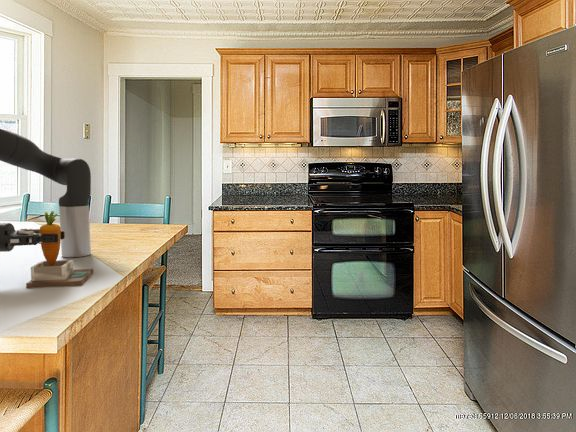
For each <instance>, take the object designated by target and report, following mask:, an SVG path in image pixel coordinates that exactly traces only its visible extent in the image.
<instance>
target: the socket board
mask: <svg viewBox="0 0 576 432" xmlns="http://www.w3.org/2000/svg"><path fill="white" fill-rule="evenodd" d="M93 274H94V268H86V269H85V268H82V269H81V268H80V269H76V268H75V269H74V259H65V260H63V259H60V260H56V262H55V264H54V265H53V266H50V265H49V264H48V262H47V261H46V260H40V261H39V262H37V263H36V264H34V265H32V266H30V280H29V281H28V282H26V283H25V284H26V286H25V287H26V288H27V289H30V288H32V289H34V288H52V287H75V286H77V287H78V286H82V285H83V284H84V283H86V281H87V280H88V279H89V278H90V277H91V276H92V275H93Z"/></svg>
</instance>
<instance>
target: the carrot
mask: <svg viewBox="0 0 576 432" xmlns="http://www.w3.org/2000/svg"><path fill="white" fill-rule="evenodd" d="M58 215H59V213H55V211H54V210H53V211H52V210H51V211H50V213H48V212H47V211H45V212H44V219H45V222H46V224H42V225H41V226H40V227H39V229H40V233H41V234H42V236H43V234H58V235H59V241H58V242H53V243H43V242H42V243H41V244H40V247H41V250H42V254H43V256H44V259H45V261H47V262H48V264H49V265H50V266H53V265H54V264H55V262H56V261H57V259H58V256H59V254H60V251H61V249H60V248H61V228H60V224H59V225H58V224H56V223H54V222H55V221H56V217H57V216H58Z"/></svg>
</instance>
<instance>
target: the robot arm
mask: <svg viewBox="0 0 576 432" xmlns="http://www.w3.org/2000/svg"><path fill="white" fill-rule="evenodd" d="M0 161H1V162H3V163H6V164H9V165H10V166H15V167H17V168H20V169H24V170H26V171H30V172H34V173H36V174H39V175H41V176H43V177H45V178H47V179H49V180H51V181H53V182H55V183H57V184H59V185H62V186H66V192H65V194H64V195H62V196H60V197H59V198H58V211H59V213H58V215H59V226H60V228H61V243H60V248H61V249H60V253H61V256H62V257H63V258H81V257H87V256H90V255H91V253H92V249H91V248H92V247H91V226H90V225H91V224H90V205H89V201H90V197H91V191H92V190H91V189H92V184H91V183H92V175H91V168H90V165H89V164H88V162H87V161H86V160H85V159H82V158H76V157H75V158H71V157H70V158H63V157H60V156H59V157H58V156H55V155H53V154H49V153H47V152H45V151H43V150H42V149H41V148H40V147H39V146H38V145H36V143H34V142H33V141H32V140H30V139H28V138H27V137H26V136H25V137H24V136H23V135H20V134H18V133H16V132H14V131H11V130H8V129H5V128H1V127H0ZM58 241H59V235H58V234H43V236H42V234H41V233H40V228H29V229H28V228H21V229H18V230H16V229H15V226H14V225H13V224H12V223H11V222H0V253H1V252H4V253H5V252H11V251H12V250H13V249H15V247H16V246H17V247H19V246H20V247H21V246H36V245H41V243H42V242H43V243H53V242H58Z"/></svg>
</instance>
